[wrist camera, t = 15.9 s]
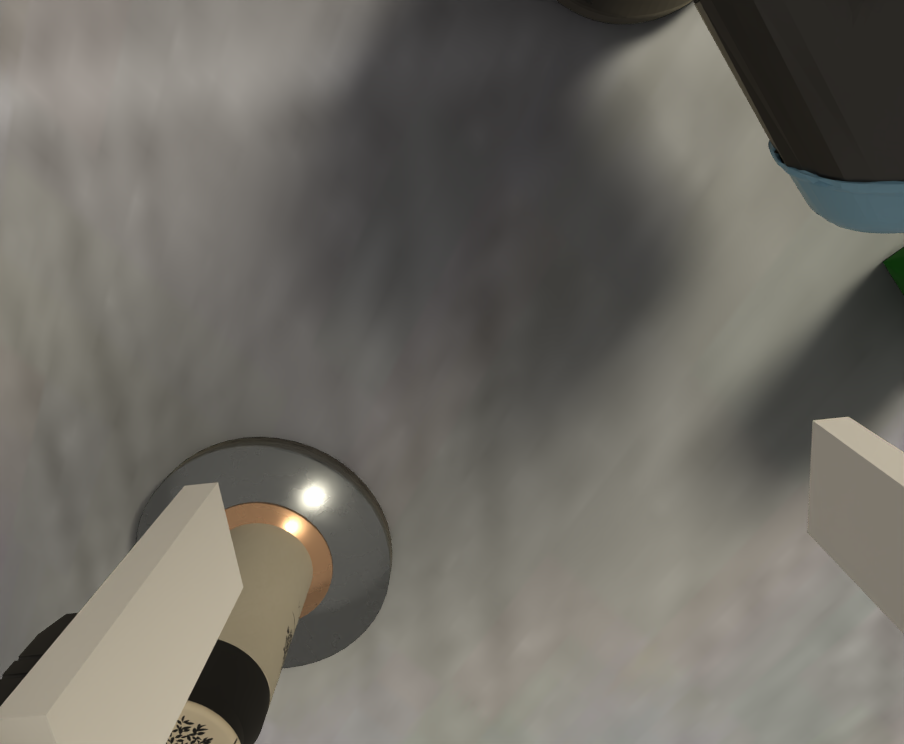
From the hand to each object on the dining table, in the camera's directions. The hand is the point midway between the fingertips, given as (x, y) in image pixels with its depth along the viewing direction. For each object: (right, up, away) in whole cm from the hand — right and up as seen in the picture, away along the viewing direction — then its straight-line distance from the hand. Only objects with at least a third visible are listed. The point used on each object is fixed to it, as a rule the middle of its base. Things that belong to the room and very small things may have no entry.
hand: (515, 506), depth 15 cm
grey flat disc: (-16, -12, +40) cm, 45 cm away
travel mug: (-16, -12, +38) cm, 43 cm away
